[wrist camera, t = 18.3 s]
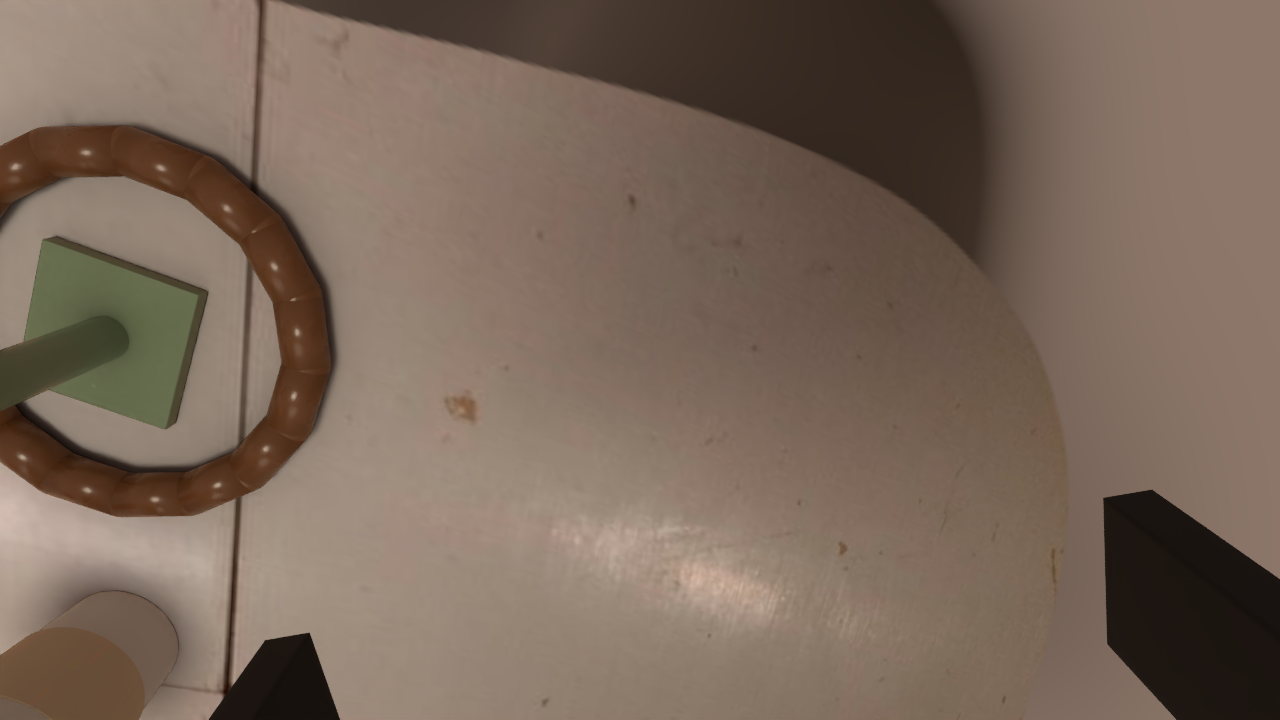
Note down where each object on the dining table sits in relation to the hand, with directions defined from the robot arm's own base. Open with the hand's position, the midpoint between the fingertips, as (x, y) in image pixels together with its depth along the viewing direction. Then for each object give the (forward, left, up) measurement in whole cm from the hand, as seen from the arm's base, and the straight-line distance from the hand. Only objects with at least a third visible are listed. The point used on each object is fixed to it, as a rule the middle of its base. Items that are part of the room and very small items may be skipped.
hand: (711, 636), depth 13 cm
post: (+13, -26, -31) cm, 42 cm away
